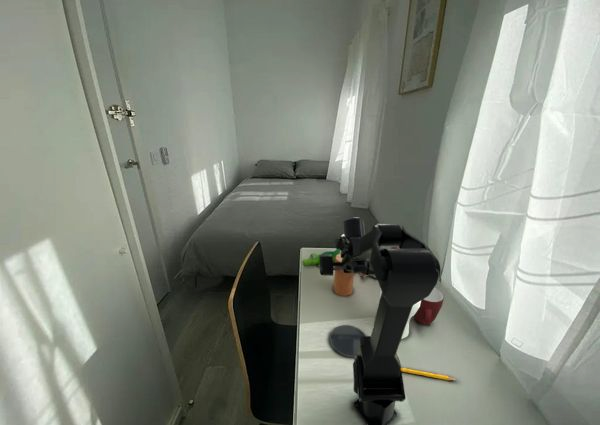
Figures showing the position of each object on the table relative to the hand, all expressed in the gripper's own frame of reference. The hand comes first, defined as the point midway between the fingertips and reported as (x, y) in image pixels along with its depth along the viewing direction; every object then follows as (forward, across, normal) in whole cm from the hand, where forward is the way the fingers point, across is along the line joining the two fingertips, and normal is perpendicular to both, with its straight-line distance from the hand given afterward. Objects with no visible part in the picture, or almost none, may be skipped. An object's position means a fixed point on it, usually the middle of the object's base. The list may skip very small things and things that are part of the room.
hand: (345, 270), depth 85 cm
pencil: (-15, -14, +28) cm, 34 cm away
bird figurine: (+6, -28, -4) cm, 29 cm away
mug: (-3, -22, +17) cm, 27 cm away
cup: (-5, -12, +18) cm, 22 cm away
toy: (+21, +6, -8) cm, 23 cm away
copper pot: (+9, 0, +4) cm, 10 cm away
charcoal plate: (-8, +2, +21) cm, 23 cm away
